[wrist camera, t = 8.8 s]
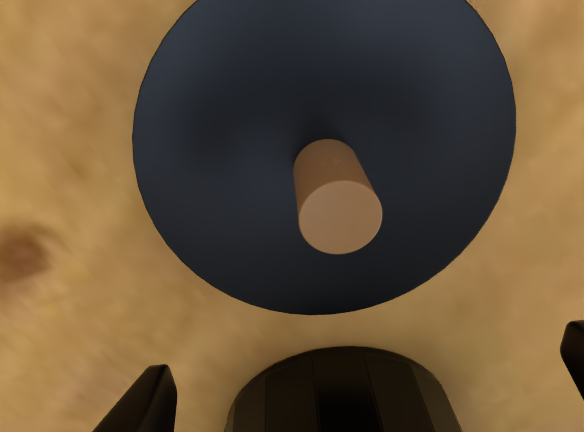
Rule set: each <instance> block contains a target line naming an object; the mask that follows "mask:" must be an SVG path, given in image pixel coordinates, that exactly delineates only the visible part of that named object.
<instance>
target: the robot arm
mask: <svg viewBox="0 0 584 432" xmlns="http://www.w3.org/2000/svg"><path fill="white" fill-rule="evenodd" d="M560 353H561V357H562V359H563V361H564V363H565V365H566V367H567V369H568V371H569V373H570V375H571V377H572V379H573V381H574V382H575V384H576V386H577V388H578V390H579V392H580V394H581V396H582V398H583V400H584V320H578V321H571V322H569V323H568V324H567V326H566V329H565V332H564V335H563V339H562V342H561V346H560ZM176 405H177V388H176V385H175V382H174V379H173V376H172V374H171V371H170V368H169V366H168V365H166V364H161V365H152V366H149V367H148V368H147V369H146V370H145V371H144V372H143V373H142V374H141V376H140V377H139V378H138V379H137V380H136V381H135V382H134V384H133V385H132V386H131V387H130V388H129V389H128V391H127V392H126V393H125V394H124V395H123V396H122V398H121V399H120V400H119V401H118V402H117V403H116V405H115V406H114V407H113V408H112V409H111V410H110V411H109V413H108V414H107V415H106V416H105V417H104V418H103V420H102V421H101V422H100V423H99V424H98V425H97V427H96V428H95V429H94V430H93V431H92V432H174V425H175V415H176Z"/></svg>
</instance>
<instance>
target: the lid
mask: <svg viewBox="0 0 584 432" xmlns="http://www.w3.org/2000/svg"><path fill="white" fill-rule="evenodd" d="M515 135H516V106H515V100H514V93H513V87H512V81H511V78H510V75H509V72H508V69H507V65H506V62H505V59H504V56H503V54H502V52H501V50H500V48H499V46H498V44H497V42H496V40H495V38H494V36H493V34H492V33H491V31H490V30H489V28H488V27H487V25H486V24H485V23H484V21H483V20H482V18H481V17H480V15H479V14H478V13H477V11H476V10H475V9H474V8H473V7H472V6H471V5H470V4H469V3H468V2H467V1H466V0H197V1H195V2H194V3H193V4H192V5H191V6H190V7H189V8H188V9H187V10H186V11H185V12H184V13H183V14H182V15H181V16H180V18H179V19H178V20H177V21H176V23H175V24H174V25H173V26H172V28H171V29H170V30H169V32H168V33H167V34H166V35H165V37H164V38H163V40H162V42H161V44H160V45H159V47H158V49H157V51H156V52H155V54H154V56H153V58H152V59H151V61H150V63H149V66H148V69H147V71H146V74H145V76H144V79H143V81H142V84H141V86H140V90H139V95H138V99H137V103H136V107H135V112H134V122H133V134H132V144H133V162H134V167H135V172H136V177H137V183H138V187H139V190H140V193H141V195H142V198H143V201H144V204H145V207H146V209H147V211H148V213H149V215H150V217H151V219H152V221H153V223H154V225H155V227H156V229H157V230H158V232H159V233H160V235H161V236H162V238H163V239H164V241H165V242H166V244H167V245H168V246H169V247H170V249H171V250H172V251H173V252H174V253H175V254H176V255H177V257H178V258H179V259H180V260H181V261H182V262H183V263H184V264H185V265H186V266H187V267H189V268H190V269H191V270H192V271H193V272H194V273H195V274H196V275H198V276H199V277H200V278H202V279H203V280H205V281H206V282H208V283H209V284H210V285H212V286H213V287H215V288H217V289H218V290H220V291H222V292H224V293H226V294H228V295H229V296H231V297H234V298H236V299H238V300H241V301H243V302H246V303H248V304H251V305H254V306H258V307H261V308H265V309H268V310H272V311H278V312H284V313H289V314H303V315H328V314H337V313H345V312H352V311H356V310H360V309H365V308H369V307H372V306H375V305H378V304H381V303H384V302H387V301H390V300H392V299H394V298H396V297H399V296H401V295H403V294H405V293H407V292H409V291H411V290H413V289H414V288H416V287H418V286H420V285H421V284H423V283H425V282H426V281H428V280H429V279H431V278H432V277H433V276H435V275H436V274H437V273H439V272H440V271H442V270H443V269H444V268H445V267H446V266H448V265H449V264H450V263H451V262H452V261H453V260H454V259H455V258H456V257H457V256H459V255H460V254H461V253H462V251H463V250H464V249H465V248H466V247H467V246H468V245H469V244H470V242H471V241H472V240H473V239H474V238H475V237H476V235H477V234H478V232H479V231H480V230H481V228H482V227H483V225H484V224H485V222H486V221H487V220H488V218H489V216H490V214H491V212H492V211H493V209H494V207H495V205H496V203H497V201H498V200H499V197H500V195H501V192H502V190H503V187H504V185H505V182H506V180H507V176H508V173H509V169H510V165H511V161H512V157H513V151H514V143H515Z"/></svg>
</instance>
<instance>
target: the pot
mask: <svg viewBox="0 0 584 432" xmlns="http://www.w3.org/2000/svg"><path fill="white" fill-rule="evenodd" d="M224 432H463V431H462V429H461V427H460V424H459V422H458V420H457V417H456V415H455V413H454V411H453V409H452V406H451V404H450V402H449V400H448V398H447V396H446V393H445V391H444V389H443V388H442V385H441V384H440V383H439V382H438V380H437V379H436V378H435V377H434V376H433V375H432V374H431V373H430V372H429V371H427V370H426V369H425V368H424V367H422V366H421V365H419V364H417V363H416V362H414V361H412V360H410V359H408V358H406V357H403V356H401V355H398V354H395V353H392V352H388V351H384V350H379V349H373V348H364V347H335V348H327V349H319V350H315V351H311V352H306V353H302V354H299V355H296V356H293V357H291V358H288V359H286V360H283V361H281V362H279V363H277V364H275V365H273V366H271V367H269V368H268V369H266V370H264V371H263V372H261V373H260V374H259V375H257V376H256V377H255V378H253V379H252V380H251V381H250V382H249V383H248V384H247V385H246V386H245V387H244V388H243V389H242V390H241V392H240V393H239V394H238V396H237V397H236V398H235V400H234V402H233V404H232V406H231V408H230V411H229V415H228V418H227V424H226V427H225V429H224Z"/></svg>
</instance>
